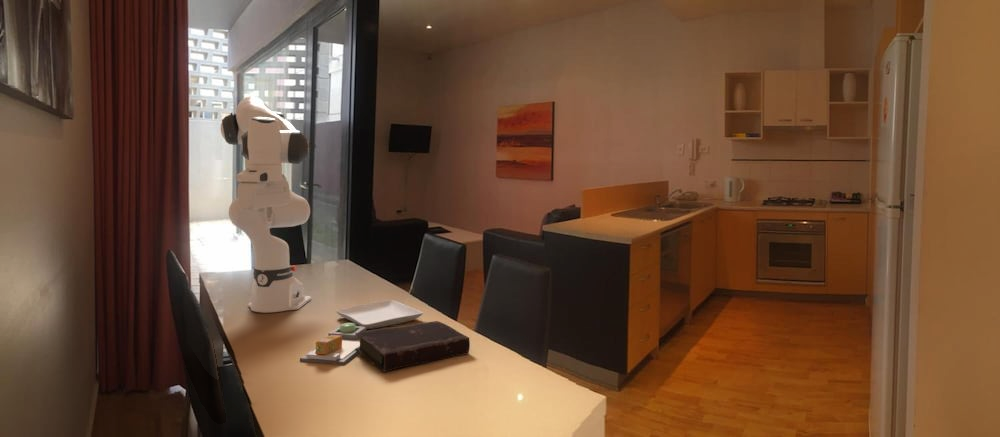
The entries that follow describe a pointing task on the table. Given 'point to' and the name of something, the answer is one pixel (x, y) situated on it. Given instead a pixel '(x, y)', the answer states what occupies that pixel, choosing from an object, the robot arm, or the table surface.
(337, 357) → the clipboard
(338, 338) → the supplement box
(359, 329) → the button bezel
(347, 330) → the button
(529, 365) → the table surface
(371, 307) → the salad plate
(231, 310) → the table surface
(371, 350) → the diary
